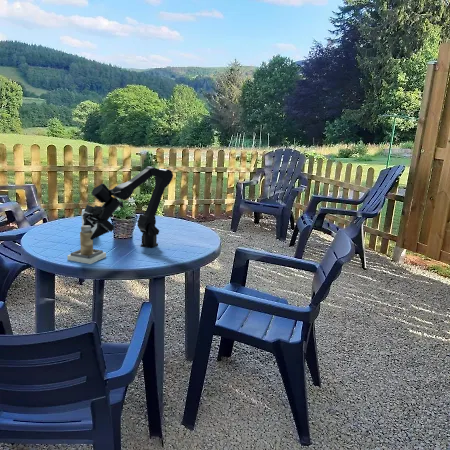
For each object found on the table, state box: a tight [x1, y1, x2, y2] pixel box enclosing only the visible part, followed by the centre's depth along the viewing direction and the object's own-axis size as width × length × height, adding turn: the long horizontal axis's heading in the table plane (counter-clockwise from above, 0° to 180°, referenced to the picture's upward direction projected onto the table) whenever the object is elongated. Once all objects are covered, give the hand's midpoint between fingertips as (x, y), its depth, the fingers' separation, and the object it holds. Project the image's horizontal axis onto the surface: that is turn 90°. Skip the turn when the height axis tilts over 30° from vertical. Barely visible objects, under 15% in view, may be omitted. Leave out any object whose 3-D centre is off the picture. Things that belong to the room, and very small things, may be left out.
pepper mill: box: [79, 225, 94, 256], centre depth 185 cm, size 5×5×12 cm
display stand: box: [66, 248, 107, 265], centre depth 186 cm, size 12×11×3 cm
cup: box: [81, 208, 97, 233], centre depth 219 cm, size 8×8×14 cm
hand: (85, 236), depth 184 cm, fingers open, 9 cm apart
